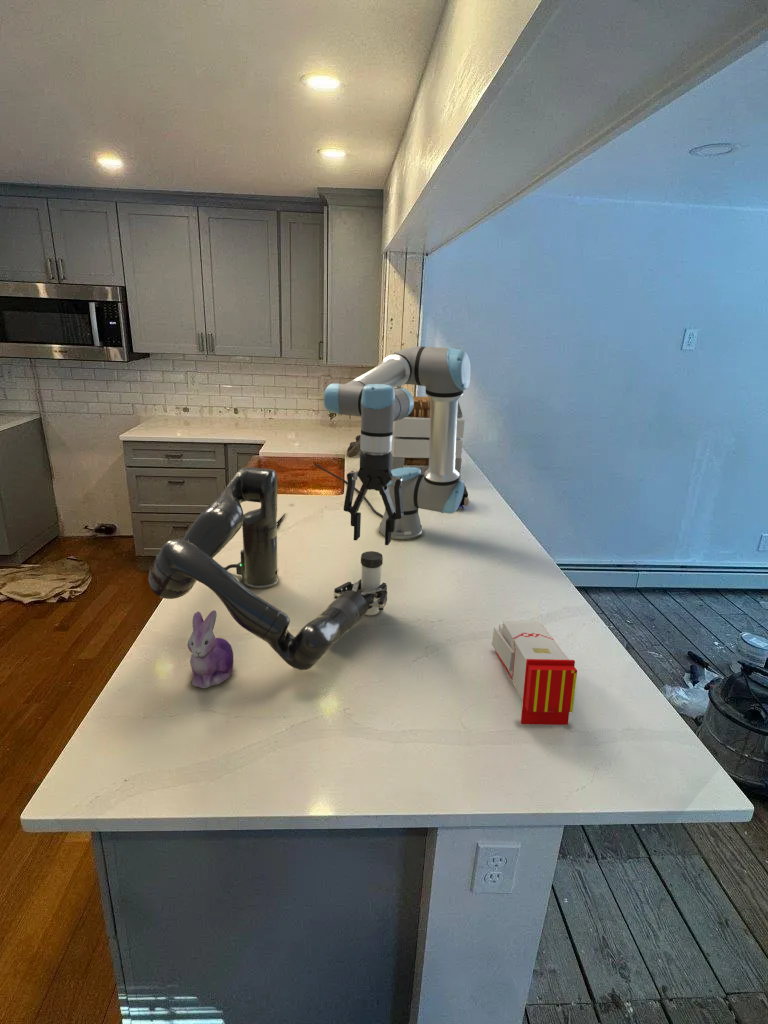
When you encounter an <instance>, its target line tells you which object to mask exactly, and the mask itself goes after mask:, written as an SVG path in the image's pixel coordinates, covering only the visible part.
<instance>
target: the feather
mask: <svg viewBox="0 0 768 1024" xmlns="http://www.w3.org/2000/svg"><path fill="white" fill-rule="evenodd" d="M285 515H286V513H283V515H281V517H280V518H279V519H278V520H277V521H276V523H277V524H276V525H277V529H278V528H279V526H280V525H281V522H282V520H283V519H284V517H285Z"/></svg>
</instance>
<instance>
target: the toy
mask: <svg viewBox="0 0 768 1024" xmlns="http://www.w3.org/2000/svg"><path fill="white" fill-rule="evenodd" d="M491 646H492V647H493V649H494V652H495V654H496V656H497V657H498V659H499V661H500V662H501V664H502V666H503V668H504V669H505V671H506V672H507V675H508V676H509V678H510V679H511V681H512V684H513V685H514V687H515V689H516V691H517V693H518V695H519V697H520V699H521V702H522V703H521V715H520V725H537V726H538V725H539V726H541V725H543V726H568V725H569V719H570V713H573V712H574V703H575V694H576V685H577V678H578V677H577V676H578V669H577V668H576V667H575V664H576V660H575V659H569V657H568V656H567V655H566V653H565V651H563V650H562V648H561V647H560V646H559V644H558V643H557V642H556V640H555V639H554V637H553V636H552V635H551V633H550V632H549V631H548V629H547V628H546V627H545V625H544V624H543V622H541V621H502V623H499V624H498V628H497V627H493V630H492V640H491Z"/></svg>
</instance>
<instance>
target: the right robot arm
mask: <svg viewBox="0 0 768 1024" xmlns="http://www.w3.org/2000/svg"><path fill="white" fill-rule="evenodd" d="M471 370H472V369H471V362H470V357H469V355H468V353H467V352H466V351H465V350H464V349H457V348H453V347H437V346H435V347H434V346H422V345H421V346H420V345H418V346H416V345H415V346H411V347H410V346H409V347H405V348H403V349H400V350H397V351H395V352H393V353H391V354H389V355H387V356H386V357H384V358H383V359H382V362H381V363H380V364H378V365H377V366H375V367H373V368H372V369H371V368H370V369H369V370H368V371H366V372H364V373H363V374H361V375H359V376H357V377H356V378H354V379H352V380H350V381H348V382H347V383H339V382H338V383H329V384H328V385H327V387H326V388H325V390H324V394H323V405H324V408H325V409H326V411H327V412H329V413H332V414H337V415H345V416H352V417H359V418H360V419H361V420H360V435H361V440H360V449H361V450H362V451H361V452H360V453H359V469H358V471H354V470H351V471H349V472H348V473H346V479H347V480H345V479H344V478H342V477H340V476H338V475H336V474H334V473H333V472H331V471H329V470H327V469H325V468H324V467H322V466H321V465H319V464H317V463H314V464H313V465H314V466H316V467H317V468H319V469H320V470H322V471H324V472H325V473H327V474H329V475H331V476H333V477H335V478H337V479H338V480H340V481H341V482H343V483H345V484H346V485H347V486H346V492H345V498H344V503H343V511H344V512H347V513H349V514H350V526H351V527H353V541H358V540H359V538H361V523H362V522H361V520H362V519H361V518H362V512H359V509H360V507H361V505H362V503H363V501H365V502H366V504H367V505H368V506H369V508H371V510H372V512H373V513H375V514H376V515H377V516H379V517H381V518H382V519H381V522H379V526H378V533H379V534H380V535H381V536H382V537H384V546H389V545H390V543H392V540H395V541H410V540H415V539H418V538H420V537H421V536H422V535H423V525H422V524H421V518H420V515H419V509H420V510H427V511H431V512H438V513H441V514H451V515H452V514H454V513H456V512H457V510H458V509H459V508H460V507H459V505H460V503H461V500H462V497H463V493H464V487H466V485H465V481H464V480H462V479H460V480H459V472H458V471H457V470H456V469H455V456H456V434H457V412H458V402H459V399H460V398H461V397H462V396H464V391H466V390H468V388H469V386H470V383H471V376H472V375H471V373H472V372H471ZM404 385H413V386H421V387H425V395H426V397H429V398H430V439H429V465H428V468H427V469H426V470H424V473H423V474H422V470H421V468H419V467H416V466H406V467H405V466H404V467H403V468H397V469H393V470H391V457H392V454H391V453H390V451H391V450H392V437H393V422H394V421H397V420H401V419H403V418H405V417H406V416H408V415H409V414H410V413H411V411H412V410H413V407H414V400H413V397H412V396H413V395H412V393H411V392H410V391H409V390H407V389H406V388H403V387H402V386H404ZM398 386H401V387H402V388H397V387H398ZM358 478H359V480H360V482H361V486H360V488H359V489H358V488H357V487H356V483H357V482H356V481H357V480H358ZM370 490H374V491H377V492H378V493H379V495H380V496H381V499H382V501H383V505H384V508H385V509H384V513H383V514H381V513H380V512H378V511H377V510H376V509H375V508H374V507H373V505H372V504H371V502H370V501H369V500H368V498H367V497H366V494H367V492H368V491H370ZM355 491H356V493H358V494H357V496H356V498H355V501H354V503H353V500H354V494H355Z"/></svg>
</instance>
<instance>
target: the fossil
mask: <svg viewBox="0 0 768 1024" xmlns="http://www.w3.org/2000/svg"><path fill="white" fill-rule="evenodd" d="M354 440H355V441H351V442H350V443H349V446H348V447H347V450H346V456H347V457H348V458H352V457H355V456H357V455H360V453H361V451H362V450H361V449H360V440H361V434H358V435H356V436H355V438H354Z"/></svg>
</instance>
